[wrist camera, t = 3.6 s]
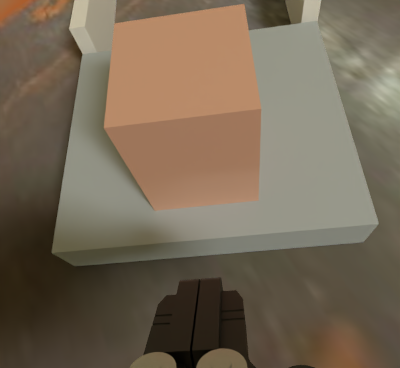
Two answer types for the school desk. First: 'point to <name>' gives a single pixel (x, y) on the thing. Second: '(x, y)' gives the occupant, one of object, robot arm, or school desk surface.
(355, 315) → the school desk surface
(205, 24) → the tile block
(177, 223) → the far plate
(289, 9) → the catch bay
